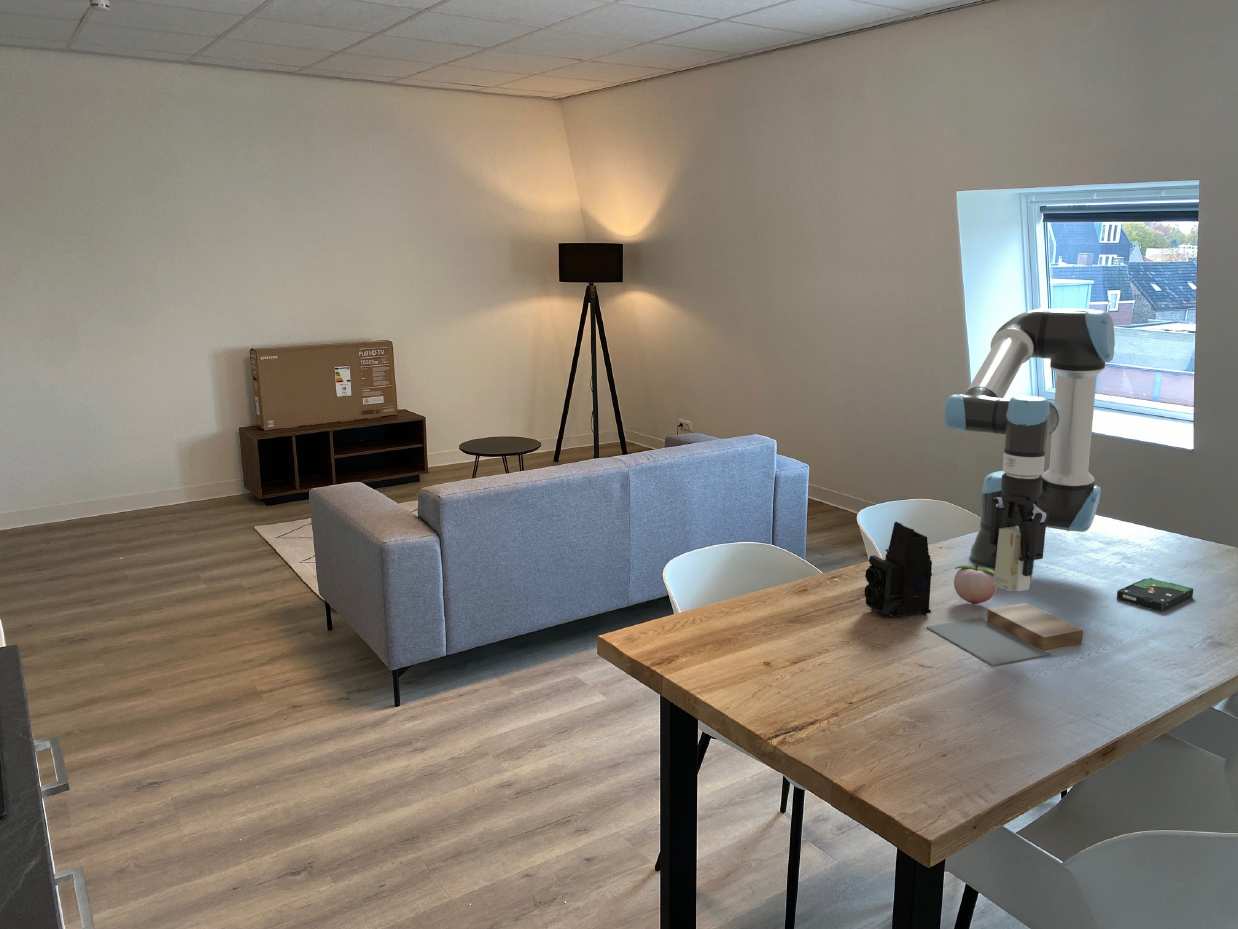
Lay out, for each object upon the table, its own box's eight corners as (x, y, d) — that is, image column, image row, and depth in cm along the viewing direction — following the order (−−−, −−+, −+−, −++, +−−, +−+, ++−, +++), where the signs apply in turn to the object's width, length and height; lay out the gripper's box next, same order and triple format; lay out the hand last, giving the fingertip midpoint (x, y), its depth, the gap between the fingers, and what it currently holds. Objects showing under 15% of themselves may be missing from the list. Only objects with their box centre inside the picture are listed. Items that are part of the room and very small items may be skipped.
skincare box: (1010, 592, 187) (1015, 534, 184) (992, 585, 191) (997, 528, 188) (1032, 587, 190) (1037, 529, 187) (1014, 580, 194) (1019, 524, 191)
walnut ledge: (987, 622, 201) (988, 609, 200) (1024, 615, 204) (1025, 602, 204) (1042, 651, 186) (1044, 637, 186) (1081, 643, 189) (1083, 630, 189)
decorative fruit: (950, 608, 209) (953, 566, 206) (952, 596, 216) (955, 555, 214) (995, 614, 205) (999, 571, 203) (996, 601, 212) (999, 560, 210)
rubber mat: (926, 628, 198) (927, 626, 198) (980, 618, 203) (980, 617, 203) (992, 666, 180) (993, 664, 180) (1050, 655, 184) (1050, 653, 184)
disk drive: (1162, 615, 205) (1193, 599, 214) (1164, 603, 205) (1194, 587, 213) (1115, 602, 213) (1146, 586, 222) (1116, 590, 213) (1147, 575, 221)
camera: (855, 608, 210) (859, 522, 205) (907, 600, 214) (912, 516, 209) (881, 624, 200) (886, 535, 196) (934, 616, 205) (940, 528, 200)
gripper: (976, 466, 192) (967, 573, 197) (1041, 486, 176) (1029, 602, 181) (1005, 463, 195) (996, 569, 200) (1072, 482, 178) (1060, 597, 183)
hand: (1012, 585), depth 190 cm, fingers closed on skincare box, 5 cm apart
